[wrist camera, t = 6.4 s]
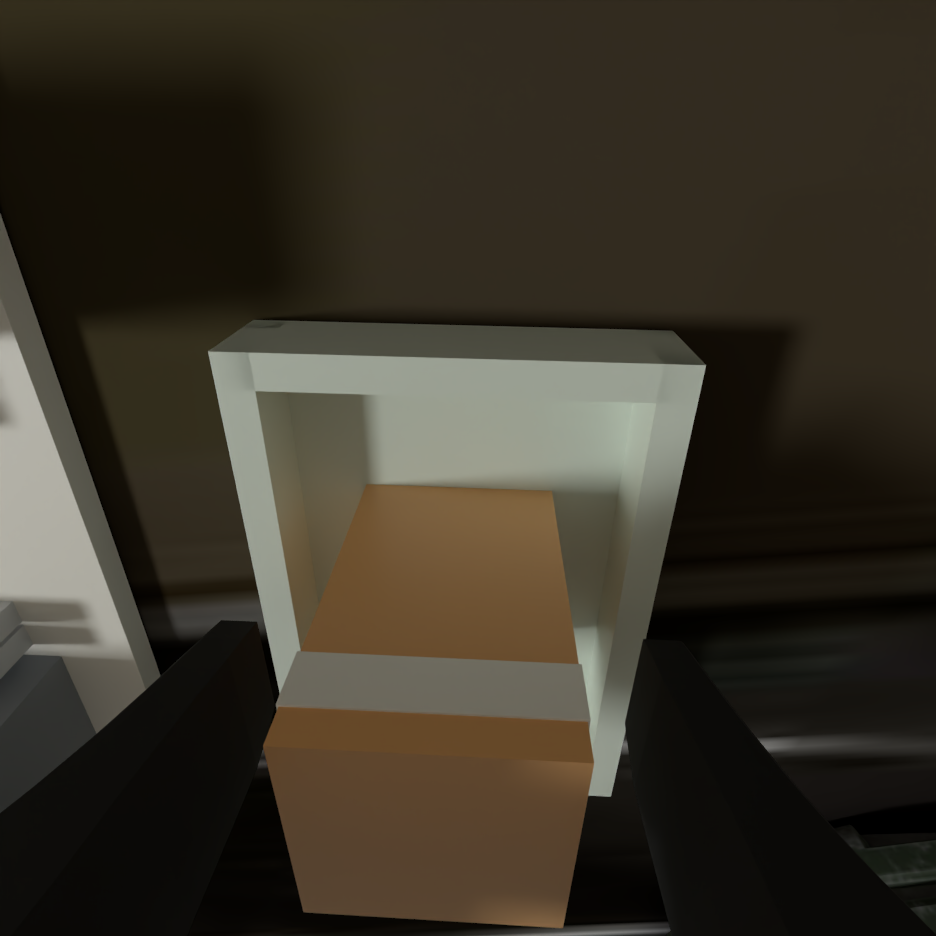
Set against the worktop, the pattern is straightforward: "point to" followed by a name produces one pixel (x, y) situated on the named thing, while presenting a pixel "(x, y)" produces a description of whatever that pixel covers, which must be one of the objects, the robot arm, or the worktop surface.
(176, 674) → the robot arm
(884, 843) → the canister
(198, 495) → the worktop surface
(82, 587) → the panel
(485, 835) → the block
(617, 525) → the tray
